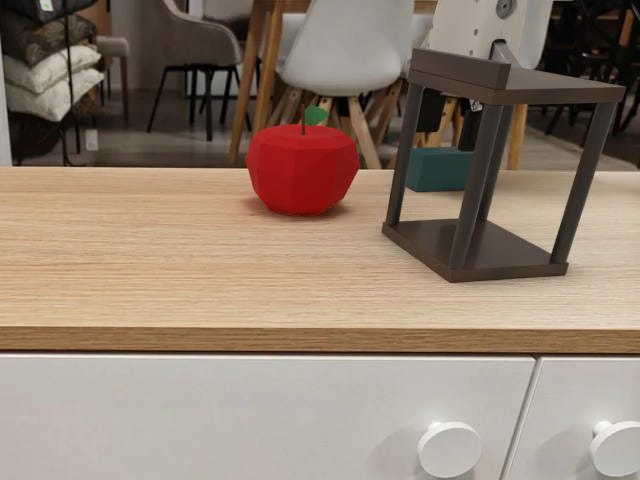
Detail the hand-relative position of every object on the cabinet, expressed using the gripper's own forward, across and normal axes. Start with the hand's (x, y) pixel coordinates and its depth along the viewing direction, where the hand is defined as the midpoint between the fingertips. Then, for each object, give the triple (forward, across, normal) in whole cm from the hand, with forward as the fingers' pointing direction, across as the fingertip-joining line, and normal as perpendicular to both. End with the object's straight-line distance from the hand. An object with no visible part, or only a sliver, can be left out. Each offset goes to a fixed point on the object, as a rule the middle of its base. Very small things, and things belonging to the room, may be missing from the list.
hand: (447, 140), depth 74 cm
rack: (+5, -20, +8) cm, 22 cm away
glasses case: (+5, 0, 0) cm, 5 cm away
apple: (+6, -5, +18) cm, 20 cm away
